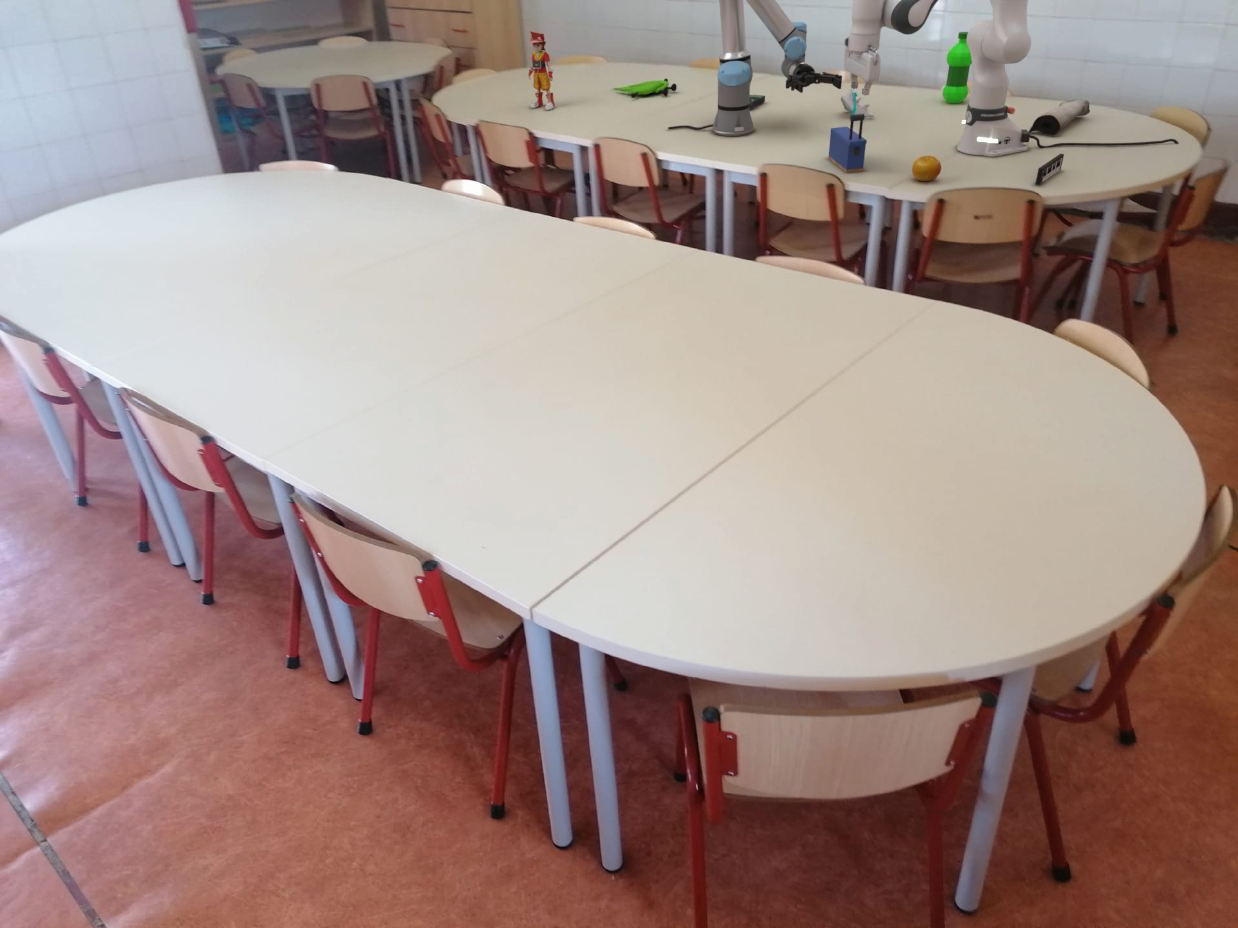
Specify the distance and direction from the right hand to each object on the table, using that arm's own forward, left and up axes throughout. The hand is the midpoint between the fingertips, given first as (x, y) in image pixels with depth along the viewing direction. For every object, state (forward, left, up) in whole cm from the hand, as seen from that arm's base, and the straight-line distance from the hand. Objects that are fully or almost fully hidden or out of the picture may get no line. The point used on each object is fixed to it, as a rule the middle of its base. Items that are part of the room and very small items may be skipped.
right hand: (859, 91), depth 278 cm
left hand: (-1, -33, -5) cm, 34 cm away
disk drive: (+7, -94, -24) cm, 98 cm away
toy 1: (+87, -126, -24) cm, 155 cm away
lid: (0, -6, -15) cm, 16 cm away
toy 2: (+42, -136, -24) cm, 145 cm away
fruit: (-17, +17, -24) cm, 34 cm away
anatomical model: (-27, -63, -24) cm, 73 cm away
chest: (0, -6, -24) cm, 25 cm away
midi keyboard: (-52, +28, -24) cm, 64 cm away
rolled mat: (-88, -23, -24) cm, 94 cm away
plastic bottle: (-71, -68, -24) cm, 101 cm away
